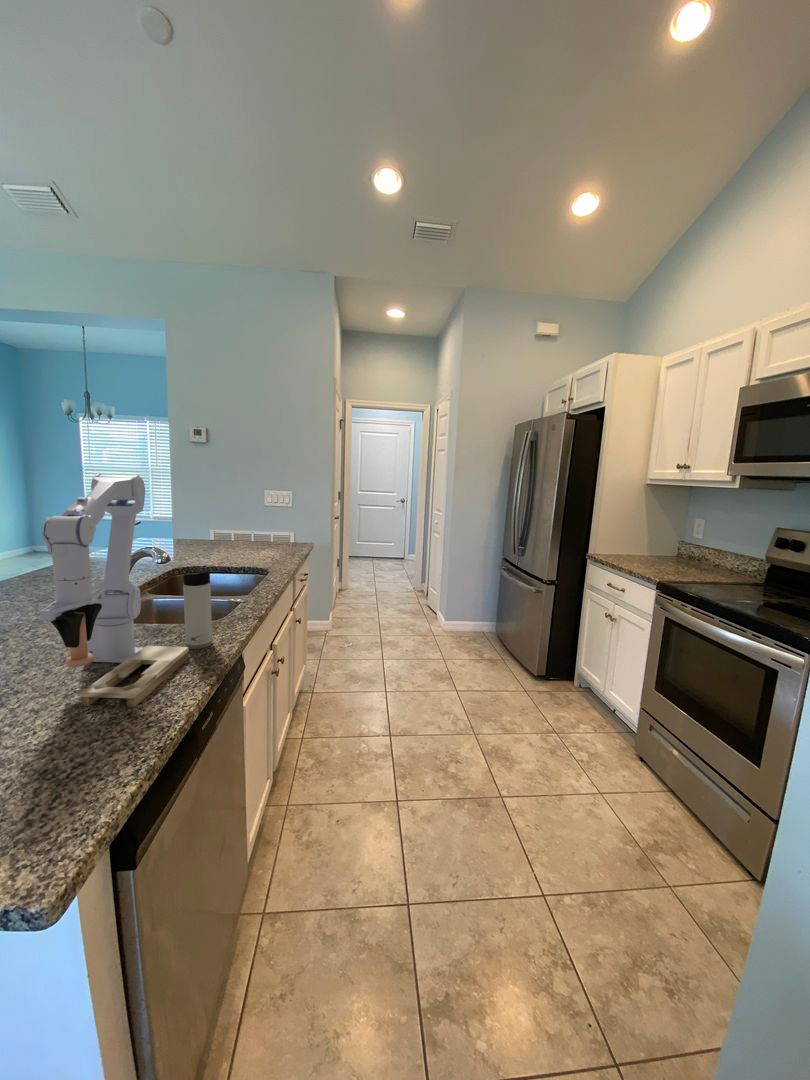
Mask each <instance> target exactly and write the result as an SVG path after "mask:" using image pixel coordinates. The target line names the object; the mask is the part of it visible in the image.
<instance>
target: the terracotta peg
mask: <svg viewBox="0 0 810 1080" xmlns="http://www.w3.org/2000/svg"><path fill="white" fill-rule="evenodd" d="M75 614H84V616H83V619H82V622H81V626H80V642H79V646H78V647H76V648H69V653H70V654H69V655H68V657H66V659H65V665H66V666H67V667H71V668H77V667H82V666H86V665H88V664H91V663H93V662H92V661H93V654H92V653H88V647H87V634H86V622H85V613H84V612H75Z"/></svg>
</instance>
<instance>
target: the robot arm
mask: <svg viewBox="0 0 810 1080" xmlns="http://www.w3.org/2000/svg"><path fill="white" fill-rule="evenodd" d="M145 485H146V484H145V482H144V479H143V478H142V477H141V476H140V475H137V474H136V475H122V474H121V475H119V474H118V475H116V474H115V475H113V474H112V475H111V474H102V473H96V474H95V475H94V476H93V478H92V479H91V483H90V486H91V487H90V489H91V490H90V492H89V493H88V495H87V496H78V497H77V498H76V500H75V501H74V502H73V503H71V504H70V505H69V507H68V508H67V509H65V510H64V512H62V513H61V514H60V515H54V516H52V517H50V518H48V519H46V520H45V522H44V524H43V526H42V534H41V535H42V539H43V541H44V543H45V544H46V547H47V553H48V555H49V556H51V559H52V561H51V562H52V568H53V569H52V570H53V581H54V582H53V583H54V592H55V593H54V594H55V600H54V601H52V602H51V603H50V604H48V606H47V607H45V608H43V609H40V610H39V618H40V620H39V621H41V622H50V623H51V624H52V625H53V626H54V628H55V629H56V631H57V632H58V633H59V635H60V637H61V639H62V642H63V644H64V647H65V648H69V649H70V648H76V647H78V646H79V642H80V626H81V622H82V619H83V616H84V614H75V612H84V613H85V622H86V634H87V647H88V653H92V654H93V661H92V662H91V663H115V664H116V663H119V664H121V663H123V662H124V661H126V660H127V659H129V658H130V657H131V656H133V655H134V654H136V653H137V652H138V651H140V650H141V649H143V648H144V647H141V646H140V647H139V646H136V642H135V640H136V639H135V627H134V626H135V624H134V620H135V619H136V618H137V617H139V615H140V612H141V609H142V600H141V599H142V598H141V588H140V587H139V586H138V585H137V584H135V583H133V582H132V581H131V580H130V579H129V578H130V570H131V561H132V550H133V542H134V541H133V540H134V534H135V533H134V532H135V524H136V518H137V514H140V513H142V512H143V510H144V507H145V502H146V501H145V500H146V487H145ZM106 513H107V514H110V515H111V523H110V531H109V537H108V546H107V554H106V555H107V556H106V564H105V570H104V578H103V579H102V580H101V581H100V582H98V583H96V584H95V585H94V586H93V584H92V572H91V570H92V569H91V559H90V545H91V544H92V543H93V540H94V538H95V537H94V536H95V533H96V531H97V525H98V524H99V523H100V521H102V519H103V518H105V516H106V515H105V514H106Z"/></svg>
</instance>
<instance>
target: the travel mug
mask: <svg viewBox="0 0 810 1080" xmlns="http://www.w3.org/2000/svg"><path fill="white" fill-rule="evenodd" d="M210 578H211V572H210V570H195V571H193V572H185V573H183V574H182V580H183V583H182V584H183V586H182V587H183V588H182V589H183V607H184V608H183V609H184V611H183V613H184V615H183V616H184V636H185V647H188V649H189V650H202V649H205V647H206V648H208V647H210V646H211V645H212V644H213V629H212V628H213V627H212V620H213V619H212V597H211V596H212V594H211V592H212V591H211V579H210Z"/></svg>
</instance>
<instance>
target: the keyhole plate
mask: <svg viewBox="0 0 810 1080" xmlns="http://www.w3.org/2000/svg"><path fill="white" fill-rule="evenodd" d="M189 650H190V649H189V648H188V647H186V646H166V645H165V646H163V645H162V646H161V645H146V646H144V647H143V649H141V650H140V651H138V652H137V653H136V654H134V655H133V656H131V657H130V658H129V659H127V660H126V661H124V662H123V663H119V665H117V666H115V667H114V668H113V669H112V670H110V671H109V672H107V673H106V674H104V675H103V676H102V677H100V678H98V680H96V681H94V682H93V683H92V684H90V685H89V686H88V687H87V686H86V688H84V689H83V690H82V691H80V699H81V700H80V701H81V706H85V707H86V706H87V707H90V706H91V705H93V703H95V702H96V701H98V700H99V699H100V698H105V699H107V698H109V699H111V698H112V699H126V705H127V708H135V707H137V705H139V704H140V703H141V702H142V701H143V700H144V699H145V698H146V697H147V696H149V695H150V694H151V693H153V691H155V689H157V688H158V686H160V685H161V684H162V683H163V682H164V681H165V680H166V679H167V678H168V677H170V676H171V675H172V674H173V673H174V672H175V671H177V669H179V668H180V666H182V665H183V664H184V663H185V662H186V661H188V660H189V658H190V655H189V652H190V651H189ZM144 665H150V666H149V667H148V668H146V669H145V670H144V671H143V672H142V673H140V678H139V679H138V680H137V681H135V682H134V683H133V684H129V685H126V686H120V687H119V686H117V685H118V684H120V683H122V681H124V680H125V679H126V678H128V677H129V676H130V675H132V674H133V673H134V672H135V671H136V670H138V669H140V667H142V666H144Z"/></svg>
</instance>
